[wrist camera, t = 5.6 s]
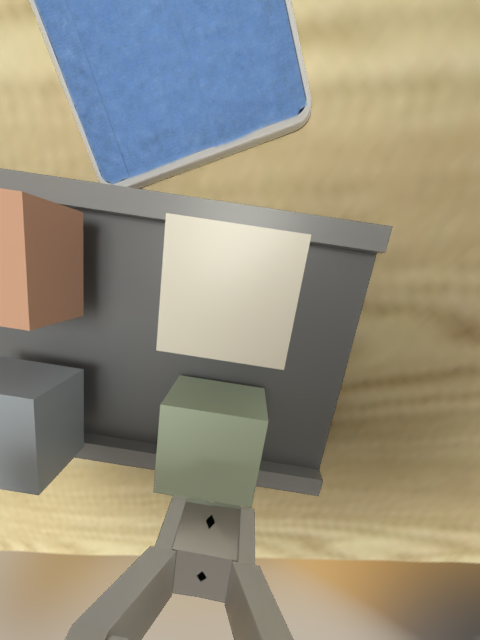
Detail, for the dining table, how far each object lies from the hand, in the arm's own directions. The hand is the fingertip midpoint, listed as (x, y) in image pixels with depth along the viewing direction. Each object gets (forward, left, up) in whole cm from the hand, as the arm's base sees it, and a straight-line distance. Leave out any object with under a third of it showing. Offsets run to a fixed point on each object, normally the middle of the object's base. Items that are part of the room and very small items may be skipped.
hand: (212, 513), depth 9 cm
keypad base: (+6, -4, -8) cm, 10 cm away
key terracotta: (+11, -8, -5) cm, 14 cm away
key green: (+1, 0, -6) cm, 6 cm away
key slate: (+11, 0, -5) cm, 12 cm away
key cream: (+1, -8, -5) cm, 9 cm away
